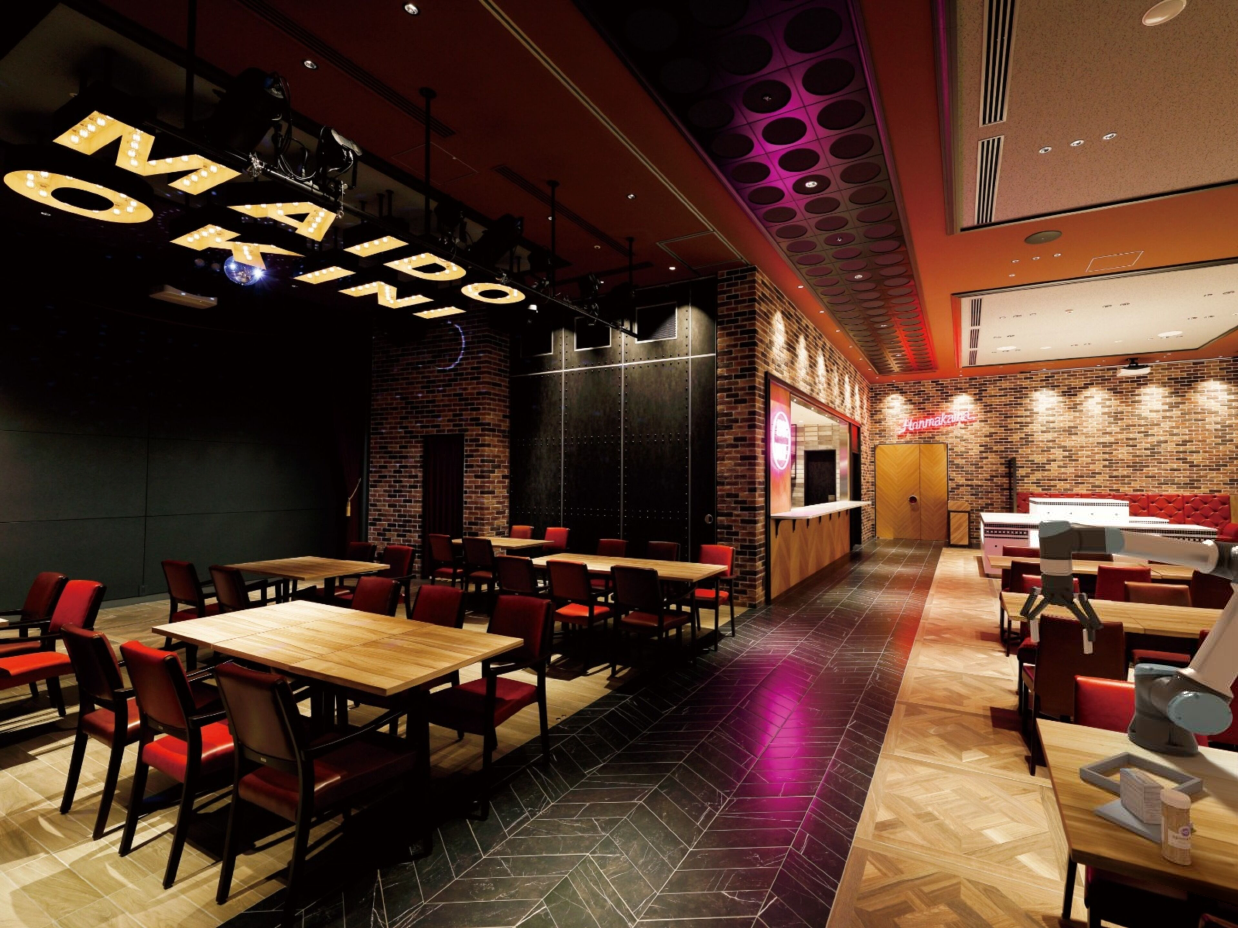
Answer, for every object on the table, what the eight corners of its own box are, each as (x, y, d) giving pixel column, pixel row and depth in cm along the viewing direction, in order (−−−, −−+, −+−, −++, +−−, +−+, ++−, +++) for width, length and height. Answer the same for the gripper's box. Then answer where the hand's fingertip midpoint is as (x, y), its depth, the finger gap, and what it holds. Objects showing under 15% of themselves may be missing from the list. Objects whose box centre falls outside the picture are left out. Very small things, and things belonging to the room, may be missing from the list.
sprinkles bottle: (1181, 867, 116) (1180, 801, 116) (1155, 853, 120) (1154, 789, 121) (1197, 864, 117) (1196, 797, 117) (1171, 849, 122) (1170, 786, 122)
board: (1128, 799, 140) (1128, 794, 140) (1192, 827, 129) (1192, 822, 129) (1095, 813, 135) (1094, 808, 135) (1159, 843, 124) (1159, 837, 124)
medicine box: (1166, 825, 128) (1165, 786, 128) (1143, 823, 129) (1142, 784, 129) (1141, 805, 136) (1140, 768, 136) (1119, 803, 136) (1119, 767, 137)
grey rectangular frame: (1126, 760, 160) (1126, 751, 160) (1202, 789, 145) (1202, 779, 145) (1079, 777, 151) (1079, 767, 151) (1156, 809, 136) (1155, 799, 136)
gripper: (1115, 577, 157) (1120, 655, 156) (1018, 567, 180) (1022, 635, 179) (1101, 580, 154) (1105, 660, 153) (1004, 569, 176) (1007, 639, 175)
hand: (1060, 647), depth 166 cm, fingers open, 13 cm apart
